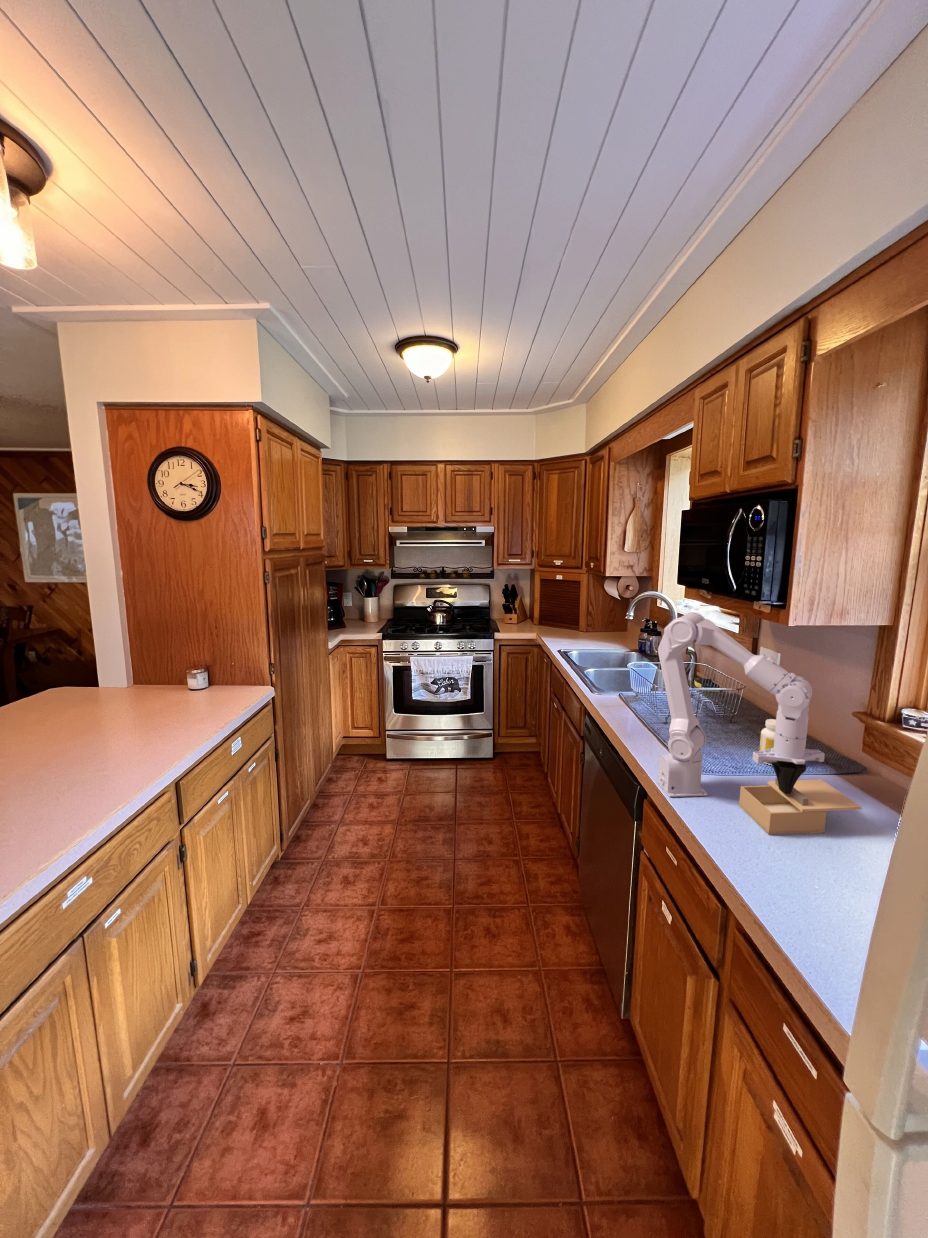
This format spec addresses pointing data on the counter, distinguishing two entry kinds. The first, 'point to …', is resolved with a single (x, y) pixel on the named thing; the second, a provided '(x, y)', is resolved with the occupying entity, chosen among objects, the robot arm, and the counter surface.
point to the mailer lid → (816, 796)
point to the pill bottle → (768, 736)
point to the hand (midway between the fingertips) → (784, 791)
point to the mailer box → (779, 812)
